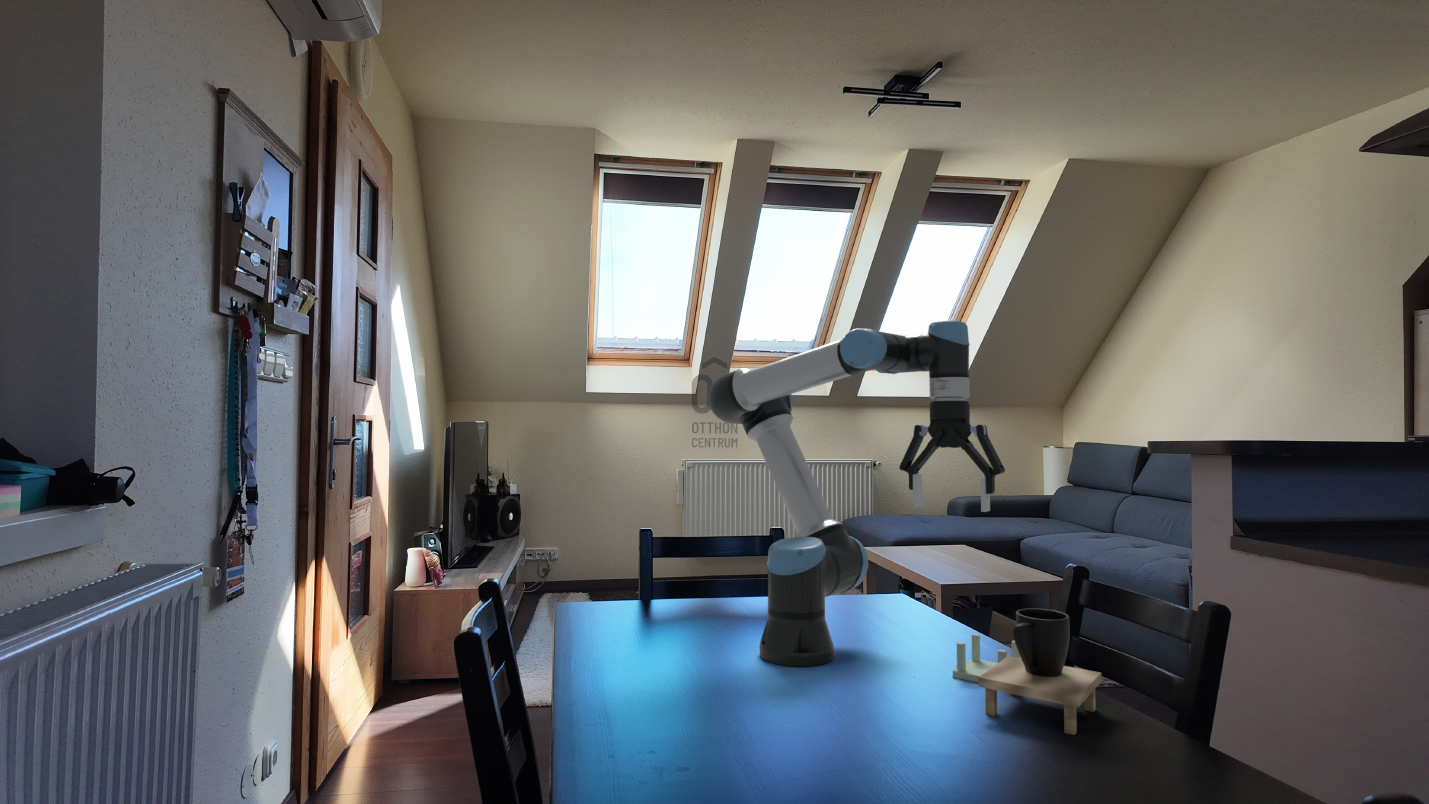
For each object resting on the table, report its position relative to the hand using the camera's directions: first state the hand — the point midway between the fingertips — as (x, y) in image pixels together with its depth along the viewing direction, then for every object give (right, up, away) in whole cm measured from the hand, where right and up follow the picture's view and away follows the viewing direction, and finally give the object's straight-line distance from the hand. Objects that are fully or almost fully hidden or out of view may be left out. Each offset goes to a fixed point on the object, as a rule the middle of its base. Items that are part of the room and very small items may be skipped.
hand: (950, 509), depth 148 cm
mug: (+7, -24, -23) cm, 34 cm away
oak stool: (+7, -30, -24) cm, 39 cm away
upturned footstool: (+5, -31, -5) cm, 31 cm away
